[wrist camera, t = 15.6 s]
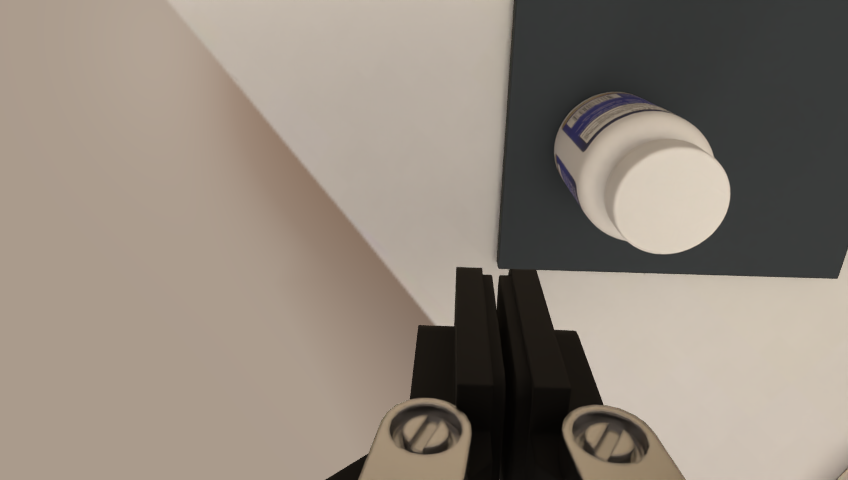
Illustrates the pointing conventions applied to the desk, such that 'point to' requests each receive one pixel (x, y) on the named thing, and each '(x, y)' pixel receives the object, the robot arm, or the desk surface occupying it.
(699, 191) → the pill bottle
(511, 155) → the mat
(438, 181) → the desk surface
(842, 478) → the headphone stand
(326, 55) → the desk surface
